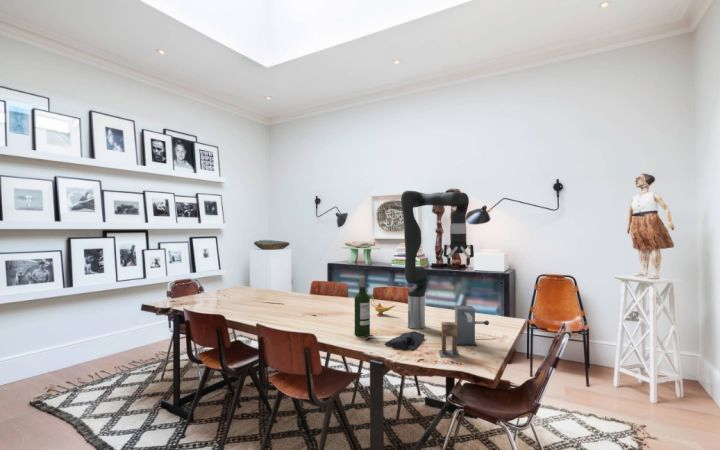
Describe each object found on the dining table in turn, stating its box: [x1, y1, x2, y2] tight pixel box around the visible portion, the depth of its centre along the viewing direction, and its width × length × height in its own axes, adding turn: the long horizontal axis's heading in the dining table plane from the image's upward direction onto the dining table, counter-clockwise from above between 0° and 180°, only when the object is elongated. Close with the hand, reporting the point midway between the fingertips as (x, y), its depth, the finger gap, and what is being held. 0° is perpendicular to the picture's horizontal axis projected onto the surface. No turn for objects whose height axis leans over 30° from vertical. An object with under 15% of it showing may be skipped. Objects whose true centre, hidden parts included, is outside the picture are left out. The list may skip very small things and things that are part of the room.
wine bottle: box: [354, 275, 371, 338], centre depth 189 cm, size 8×8×30 cm
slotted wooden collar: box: [441, 321, 458, 355], centre depth 160 cm, size 6×4×13 cm, turn 83°
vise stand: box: [454, 304, 490, 347], centre depth 169 cm, size 16×19×17 cm
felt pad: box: [438, 349, 461, 359], centre depth 160 cm, size 8×8×1 cm
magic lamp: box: [370, 295, 396, 317], centre depth 229 cm, size 7×18×11 cm, turn 57°
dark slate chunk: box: [384, 330, 425, 351], centre depth 176 cm, size 15×22×5 cm
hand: (458, 265), depth 181 cm, fingers open, 8 cm apart
